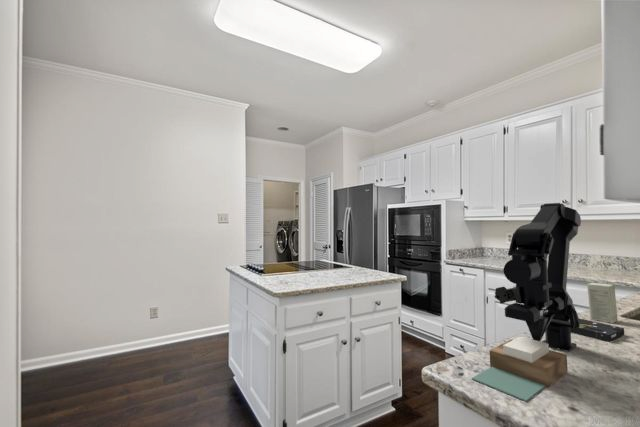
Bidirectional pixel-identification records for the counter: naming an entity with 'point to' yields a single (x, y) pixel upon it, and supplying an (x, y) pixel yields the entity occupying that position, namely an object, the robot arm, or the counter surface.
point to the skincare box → (602, 302)
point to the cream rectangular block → (526, 349)
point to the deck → (531, 366)
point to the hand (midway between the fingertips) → (536, 342)
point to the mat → (509, 383)
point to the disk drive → (598, 330)
